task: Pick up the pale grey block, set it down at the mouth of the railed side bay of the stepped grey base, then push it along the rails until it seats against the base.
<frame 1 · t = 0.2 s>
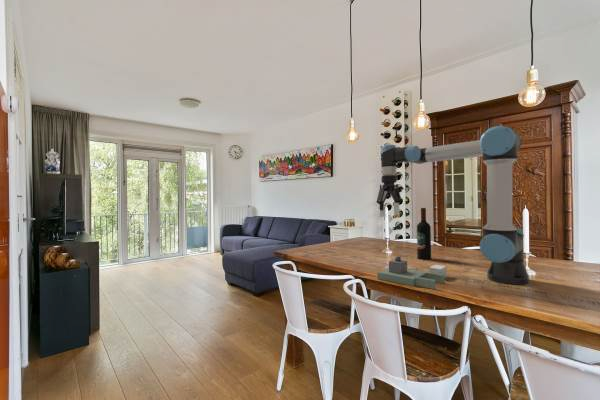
hand: (389, 215, 156), 27 cm above the table, fingers open, 13 cm apart
wine bottle: (424, 258, 178), on the table
stepped grey base: (402, 279, 137), on the table
pale grey block: (438, 277, 138), on the table
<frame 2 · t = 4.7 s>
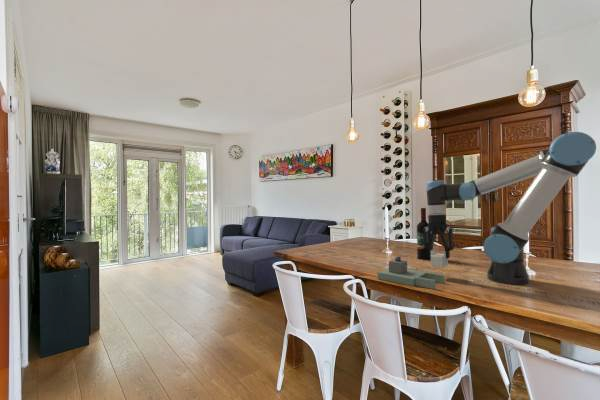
hand: (439, 264, 138), 6 cm above the table, fingers closed on pale grey block, 5 cm apart
pale grey block: (439, 265, 138), point 5 cm above the table, touching gripper
everything else where it was.
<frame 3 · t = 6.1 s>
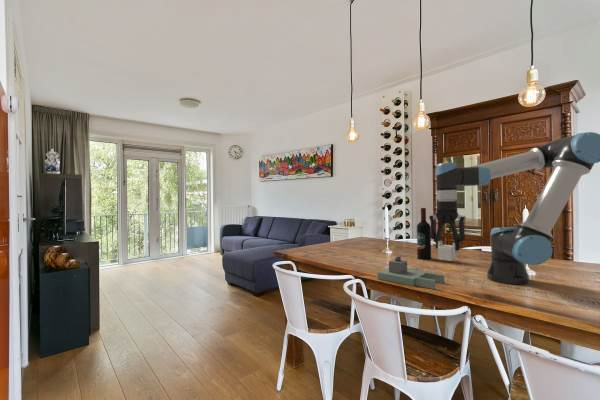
hand: (447, 257, 123), 12 cm above the table, fingers closed on pale grey block, 5 cm apart
pale grey block: (447, 258, 123), point 12 cm above the table, touching gripper
everything else where it was.
when the fingers open (0 cm above the table, at t = 7.5 s): pale grey block stays where it is, on the table.
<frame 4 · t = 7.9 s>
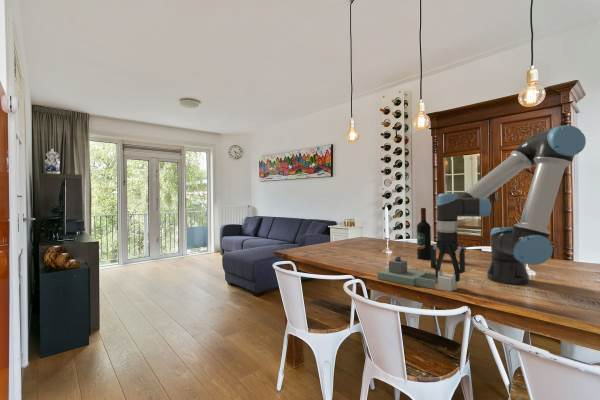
hand: (447, 287, 123), 0 cm above the table, fingers open, 5 cm apart
pale grey block: (447, 288, 123), on the table
everything else where it was.
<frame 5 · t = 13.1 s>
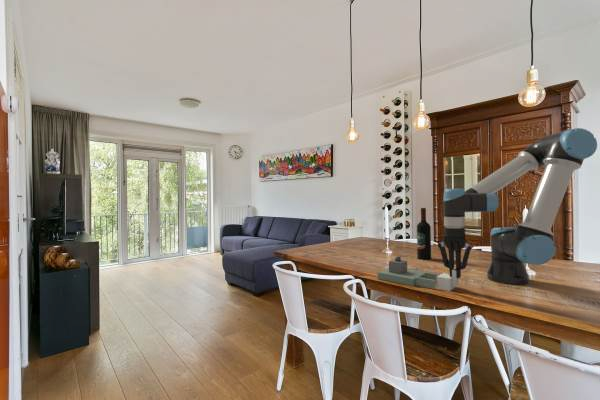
hand: (455, 285, 121), 2 cm above the table, fingers closed
pale grey block: (446, 287, 123), on the table, touching gripper
everything else where it was.
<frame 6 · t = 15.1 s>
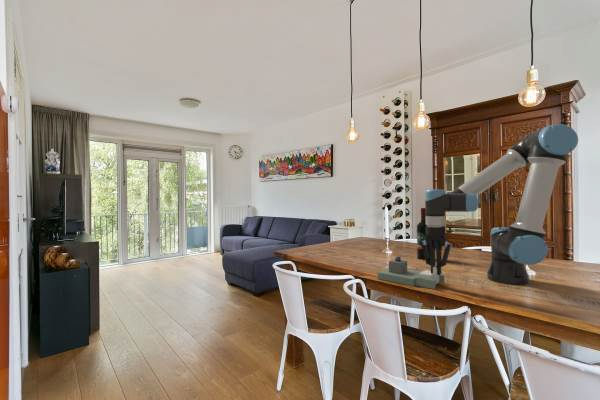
hand: (436, 281, 126), 2 cm above the table, fingers closed
pale grey block: (428, 284, 128), on the table, touching gripper
everything else where it was.
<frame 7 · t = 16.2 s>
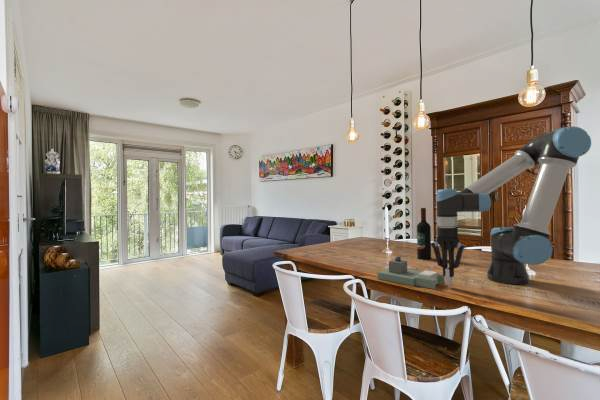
hand: (448, 284, 123), 1 cm above the table, fingers closed
pale grey block: (428, 284, 128), on the table
everything else where it was.
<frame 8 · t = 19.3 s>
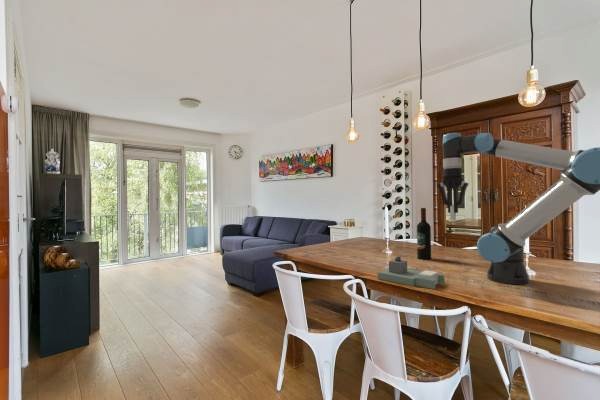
hand: (453, 220, 136), 26 cm above the table, fingers closed
nothing on the table moved.
at the end: pale grey block 0.5 cm from the target spot on the stepped grey base, point 0.0 cm above the stepped grey base's base; pale grey block tilted 0°; the gripper is holding nothing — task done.
